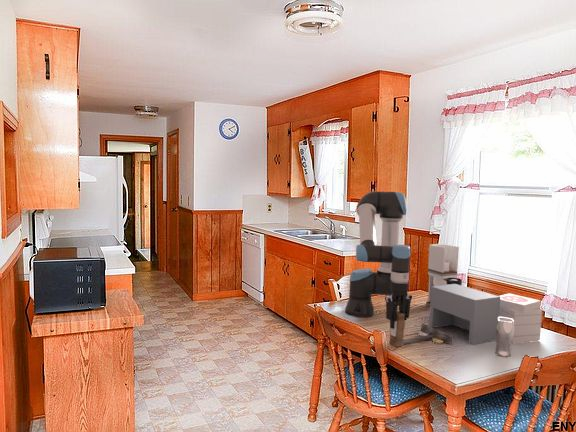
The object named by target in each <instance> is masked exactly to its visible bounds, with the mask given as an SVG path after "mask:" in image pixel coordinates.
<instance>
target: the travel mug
mask: <svg viewBox="0 0 576 432" xmlns="http://www.w3.org/2000/svg"><path fill="white" fill-rule="evenodd" d="M449 284H458V285H461V286H463V280H462V279H461V278H458V277H457V278H447V283H446V285H449Z"/></svg>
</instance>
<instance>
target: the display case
mask: <svg viewBox="0 0 576 432" xmlns="http://www.w3.org/2000/svg"><path fill="white" fill-rule="evenodd" d="M428 248H429V249H428V267H427V275H429V276H428V294H427V301H426V302H425V305H426V306H427V307H430V303H431V286H440V285H446V283H447V278H458V267H459V265H458V264H459V254H460V253H459V251H460V247H459V246H457V245H452V244H447V243H446V244H445V243H435V244H433V243H432V244H430V243H429V247H428Z"/></svg>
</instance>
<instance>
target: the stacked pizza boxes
mask: <svg viewBox="0 0 576 432" xmlns="http://www.w3.org/2000/svg"><path fill="white" fill-rule="evenodd" d="M498 296H499V297H500V308H499V317H506V318H511V319H513V320H514V335H513V339H512V342H511V345H512V344H513V345H514V344H515V343H516V344H523V343H522V342H529V343H531V342H530V341H538V340H540V338H541V329H542V318H543V316H542V315H543V309H541V300H539V299H535V298H531V297H527V296H523V295H522V296H521V295H518V294H514V293H504V294H501V295H498ZM540 341H541V340H540Z"/></svg>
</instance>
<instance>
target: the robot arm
mask: <svg viewBox="0 0 576 432" xmlns="http://www.w3.org/2000/svg"><path fill="white" fill-rule="evenodd" d="M356 214H357V216H358V222H359V224H358V225H359V244H357V245H356V248H355V260H356V261H357V262H364V263H379V266H378V267H377V268H376V272H374V271H373V269H371V268H358V269H353V270H352V271H351V272H350V275H349V289H348V290H349V291H348V293H349V295H348V296H349V297H348V299H347V303H346V306H345V309H344V313H345V314H346V315H348V316H351V317H355V318H370V317H373V316H374V315H375V308H374V305H373V301H372V296H373V295H376V296H385V297H384V301H385V310H386V311H385V312H386V313H385V316H386V319H387V320H388V321H389V329H390V328H391V335H393V336H396V329H397V321H395V320H396V314H397V311H399V312H401V313H404V314H405V316H404V324H405V322H406V321H407V319H409V318H410V317H409V316H410V312H411V311H410V310H411V303H412V302H411V301H412V299H413V296H412V295H410V294H408V291H409V281H410V263H411V247H410V246H409V245H406V244H399V234H400V222H401V221H402V220H403V217H404V216H406V215H407V201H406V196H405V194H404V193H403V192H399V191H379V190H375V191H369V192H367V193H366V194H364V195H363V196H362V197H361V198H360V200H359V201H358V203H357V204H356ZM376 215H379V219H380V220H381V221H382V224H381V225H382V226H381V241H380V242H381V245H378V244H377V232H376V231H377V230H376V229H377V228H376V218H375V216H376Z"/></svg>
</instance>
